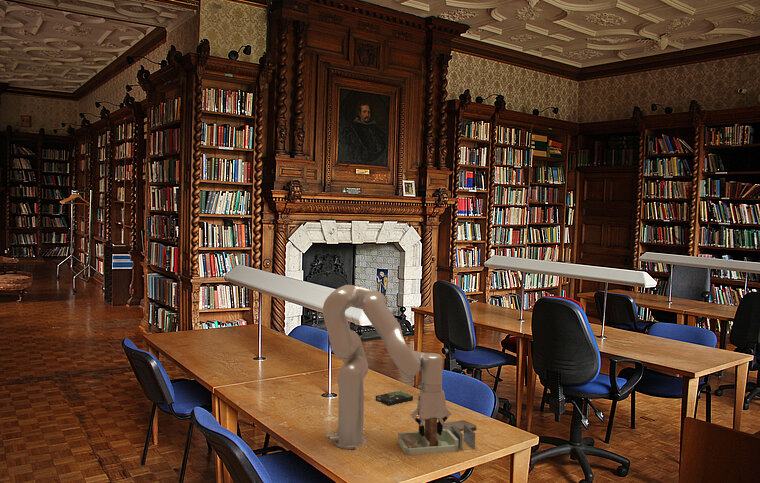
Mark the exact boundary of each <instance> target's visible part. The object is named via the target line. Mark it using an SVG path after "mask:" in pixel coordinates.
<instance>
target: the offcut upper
mask: <svg viewBox="0 0 760 483" xmlns="http://www.w3.org/2000/svg"><path fill="white" fill-rule="evenodd" d="M404 440H405V441H406V442H407V443H408V444H409V445H410V446H416V445H417V443H418V441H417V440H416V439H415V438H414V437H413V436H412V435H406V436H405V438H404Z"/></svg>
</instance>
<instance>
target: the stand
mask: <svg viewBox="0 0 760 483" xmlns="http://www.w3.org/2000/svg"><path fill="white" fill-rule="evenodd" d="M451 433H452V434H453V435H454V436H455V437H456V438H457V439H458V440H459V441H458V451H462V450H463V443H464V442H465V443H466V444H467V445H468V446H469V447H470V448H471V449H472V450H475V449H476V432H475V431H472V430H471V429H470V428H469V427H468V426H467V425H464V430H463V433H462V432H461V431H459V430H458V429H457V428H456V427H455V426H452V431H451ZM463 441H464V442H463Z"/></svg>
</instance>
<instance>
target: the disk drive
mask: <svg viewBox="0 0 760 483" xmlns="http://www.w3.org/2000/svg"><path fill="white" fill-rule="evenodd" d="M375 401H377V402H378V403H380V402H381V404H383V405H385V406H386V407H387V406H388V407H390V406H394V405H395V404H396V405H400V404H404V403H403V402H405V403H408V401H409V402H412V401H414V395H411V394H410V393H407V392H406V393H405V392H402V391H401V390H397V391H393V392H387V393H384V394H377V395H375ZM399 403H400V404H399Z"/></svg>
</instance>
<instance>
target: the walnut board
mask: <svg viewBox="0 0 760 483" xmlns="http://www.w3.org/2000/svg"><path fill="white" fill-rule="evenodd" d="M437 423H438V419H437V418H430V419H425V421H424V429H425V435H424V436H425V437H426V439H427V440H428V441H429V442H430V447H431V446H436V445H437Z"/></svg>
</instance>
